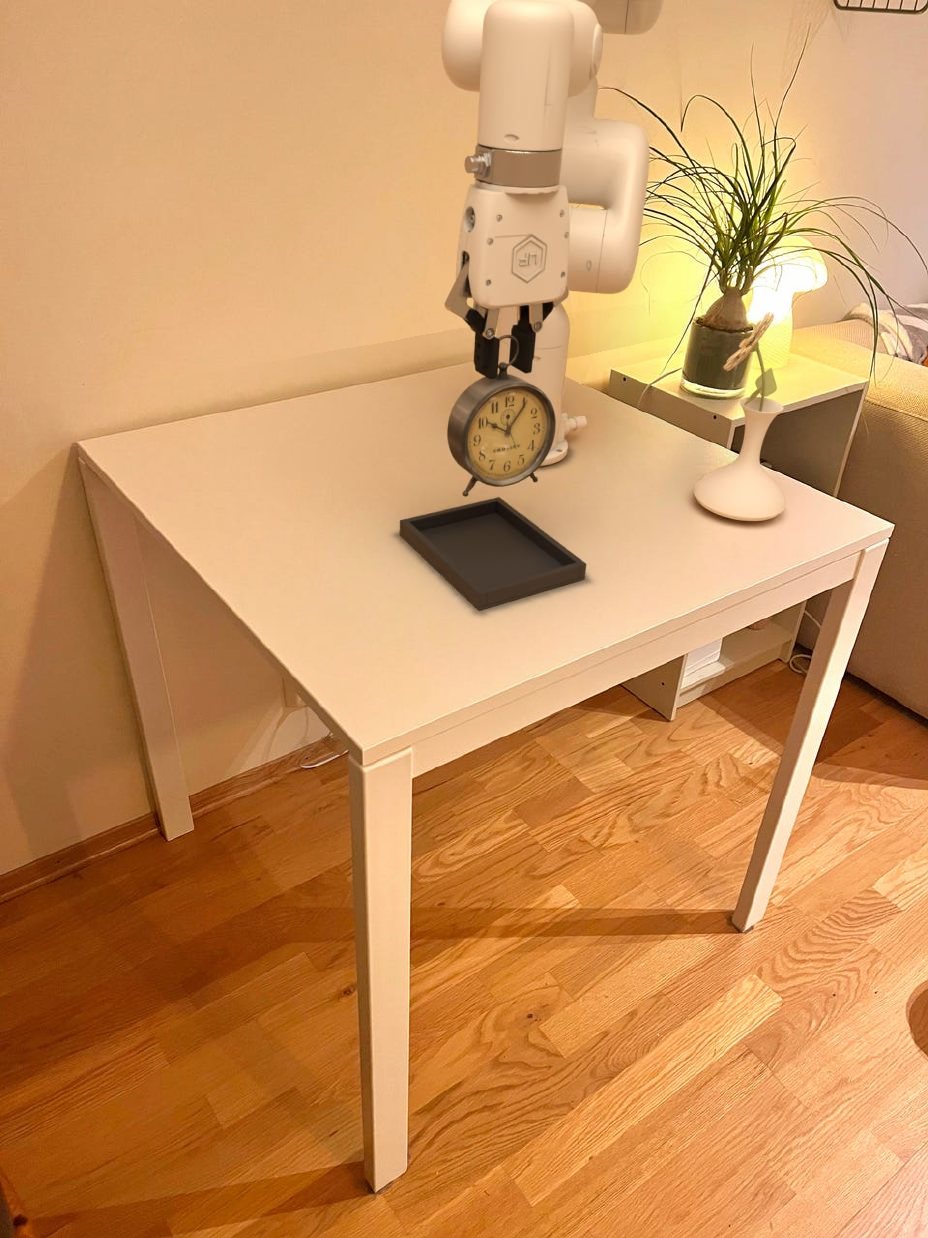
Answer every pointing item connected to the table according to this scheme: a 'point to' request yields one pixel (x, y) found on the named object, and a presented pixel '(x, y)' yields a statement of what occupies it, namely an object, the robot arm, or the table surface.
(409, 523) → the tray
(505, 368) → the alarm clock
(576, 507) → the table surface
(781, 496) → the flower in vase
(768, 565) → the table surface
